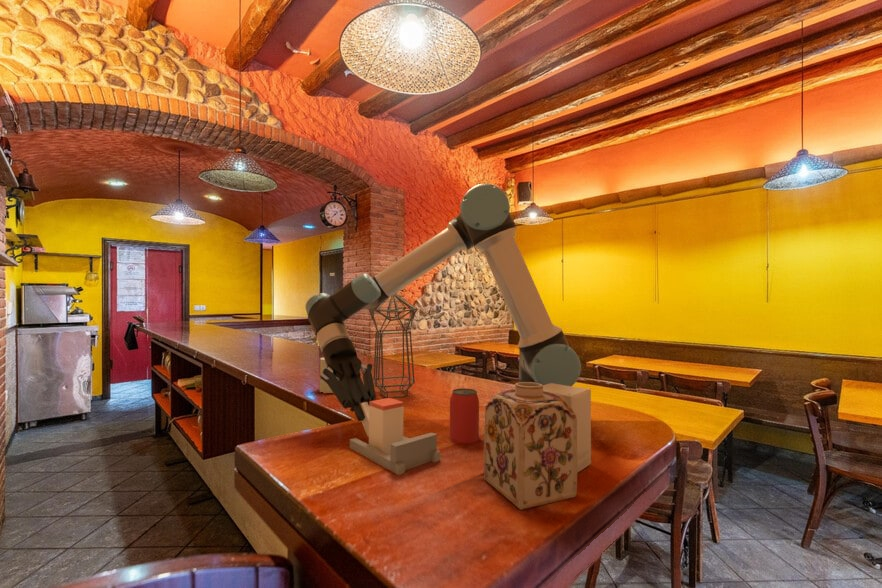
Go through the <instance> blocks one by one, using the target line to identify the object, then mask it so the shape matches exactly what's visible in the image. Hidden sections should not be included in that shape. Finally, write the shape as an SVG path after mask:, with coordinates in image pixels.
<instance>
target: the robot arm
mask: <svg viewBox="0 0 882 588" xmlns="http://www.w3.org/2000/svg"><path fill="white" fill-rule="evenodd" d="M509 200H510V199H509V198H508V196H507V194H506V193H505V191H504V190H502V188H500V187H499V186H497V185H494V184H490V183H479V184H477V185H474V186H472V187H471V188H470V189H468V190H467V192H466V193H465V194H464V196H463V197H462V200H461V201H460V205H459V206H460V207H459V211H460V213H459V214H458V215H457V216H455V218H453V219H451V220H450V221H448V222H447V226H446V228H444V229H443V230H442V231H440V232H439V233H437V234H436V235H434V236H433V237H431V238H429V239H428V240H426V241H425V242H424V243H422V244H421V245H419V246H417V247H416V248H415V249H413V250H412V251H410V252H409V253H407V254H405V255H404V256H403V257H401V258H399V259H398V260H397V261H395V262H394V263H392V264H390V265H389V266H387V267H386V268H384V269H383V270H382V271H380V272H378V273H377V274H375V275H374V276H373V277H372V276H370V275H369V273H366V272H365V273H362V274H360V275H358V276H357V277H354V278H353V279H352V280H351V281H350V282H348V283H346V284H345V285H344V286H342V287H341V288H339V289H338V290H337V291H335V292H334V293H332V294H331V295H330V294H329V293H325V292H321V293H318V294H316V295H315V294H314V295H312V296H311V297H309V298H308V299H307V301H306V302H305V311H306V314H307V319H308V322H309V324H310V326H311V328H312V330H313V333H314V335H315V338H316V340H317V343H318V345H319V348H320V351H321V352H322V356H323V357H324V359H325V362H326V364H327V369H326V368H325V369H324V370H323V372H322V374H321V376H320V377H319V379H320V378H321V379H322V380H324V381H325V382H326V383H327V384H328V386H329V387H330V388H331V390H332V391H333V393H334V396H335V398H336V399H337V400H338V401H339V403H340V405H341V406H342V408H343V409H348V408H349V410H350V412H353V413H354V415H355V417H356V420H357V421H358V422H361V424H362V426H363V429H364V431H365V434H366V436H367V437H369V401H375V399H376V397H377V394H376V389H375V388H376V387H375V384H374V381H373V375H372V370H373V364H371V363H368V364H365V363H363V362H362V360H361V359H360V358H359V357H358V354H357V350H356V348H355V344H354V343H353V341H352V340H351V337H350V334H349V332H348V330H347V327H346V325H345V321H347V320H348V319H350V318H351V317H353V316H354V315H356V314H358V313H359V312H361V311H362V310H364V311H365V310H368V311H369V310H372V309H375V308H376V307H378V306H379V305H380V304H381V303H382V302H383V301H385V300H386V299H387V300H388V299H389V298H391V296H392V295H393V294H395V293H396V294H397V293H398V292H400V291H401V290H403V289H404V288H406V287H407V286H409V285H410V284H412V283H413V282H415V281H416V280H418V279H420V278H421V277H422V276H423V275H426V274H427V273H428V272H430V271H432V270H433V269H435V268H436V267H438V266H439V265H440V264H442V263H443V262H445V261H447V260H448V259H450V258H452V257H453V256H454V255H456V254H457V253H459V252H460V251H469V250H470V249H471V248H474V249H476V250H479V251H481V252H482V253H483V256H484V258H485V259H486V262H487V264H488V267H489V268H490V271H491V274H492V275H493V277H494V279H495V280H494V281H495V283H496V285H497V287H498V290H499V291H500V294H501V296H502V298H503V300H504V303H505V305H506V308H507V310H508V312H509V315H510V317H511V318H512V321H513V323H514V325H515V328H516V331H517V332H518V334H519V341H518V343H517V347H518V351H519V353H518V354H519V359H518V360H519V361H518V363H519V365H518V366H519V367H518V369H519V370H518V382H534V383H539V384H542V385H546V384H550V383H554V384H560V385H566V386H572V387H574V385H575V384H576V383H577V381H578V379H579V377H580V375H581V371H582V364H581V360H580V357H579V355H578V354H577V353H576V351H575V350H574V349H573V348H572V347H570V345H569V342H568V340H567V338H566V335H565V334H564V332H563V330H562V328H561V327H560V326H557V325H555V324H553V322H552V320H551V317H550V315H549V313H548V311H547V308H546V307H545V303H544V302H543V299H542V297H541V295H540V292H539V291H538V288H537V286H536V284H535V281H534V279H533V276H532V275H531V272H530V270H529V268H528V266H527V263H526V262H525V259H524V256H523V254H522V252H521V251H520V247H519V246H518V244H517V241H516V238H515V235H516V232H517V226H516V223H515V221H514V219H513V216H512V214H511V213H510V211H511V210H510V209H511V208H510V206H511V205H510V201H509ZM387 300H386V301H387ZM382 304H383V303H382ZM382 304H381V305H382ZM381 305H380V306H381ZM380 306H379V307H380ZM379 307H378V308H379ZM323 357H322V358H323ZM361 375H362V377H361ZM337 378H338V379H339V380H338V379H337Z"/></svg>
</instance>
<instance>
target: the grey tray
mask: <svg viewBox="0 0 882 588" xmlns="http://www.w3.org/2000/svg"><path fill="white" fill-rule="evenodd" d="M349 449H350V450H353V451H355V452H356V453H358V454H359V455H362V456H363V457H364V458H367V459H368V460H370V461H371V462H374V463H376V464H377V465H379V466H380V467H383V468H384V469H386V470H388V471H391V472H392V473H394V474H395V475H396V476H401V475H403V474H405V473H406V471H407V470H410V469H412V468H415V467H419V466H421V465H424V464H427V463H429V462H432V463H438V462H440V461H441V450H438V434H437V433H434V432H429V433H425V434H422V435H418V436H415V437H411V438H409V437H407V436H405V435H403V441H400V442H396V443H393V444H391V450H390V455H388V454H386V453H384V452H382V451H380V450H378V449H376V448H374V447H372V446H370V445H369V443H367V442H364V441H362V440H361V439H359V438H357V437H354V438H349Z"/></svg>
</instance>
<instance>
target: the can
mask: <svg viewBox="0 0 882 588" xmlns="http://www.w3.org/2000/svg"><path fill="white" fill-rule="evenodd" d="M319 360H320V361H319V362H320V363H319V366H320V367H319V368H320V369H319V371H320V373H319V375H320V376H321V374H322V372H323V370H324V369H325V368H326V369H327V364H326V362H325V359H324V357H320V358H319ZM337 379H338V378H337ZM338 380H339V379H338ZM318 392H319V393H321V392H323V393H322V394H326V393H333V391H332V390H331V388H330V387H329V386H328V384H327V383H326V382H325V381H324V380H322V379H321V378H320V377H319V391H318Z"/></svg>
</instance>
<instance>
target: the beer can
mask: <svg viewBox="0 0 882 588" xmlns="http://www.w3.org/2000/svg"><path fill="white" fill-rule="evenodd" d="M479 435H480V400H479V396H478V392H477V390H475V389H474V388H466V387H465V388H464V387H462V388H455V389H454V388H453V390H452V391H451V395H450V400H449V437H448V438H449V440H450V441H452V442H454V443H457V444H472V443H477V441H479V440H480V437H479Z"/></svg>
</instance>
